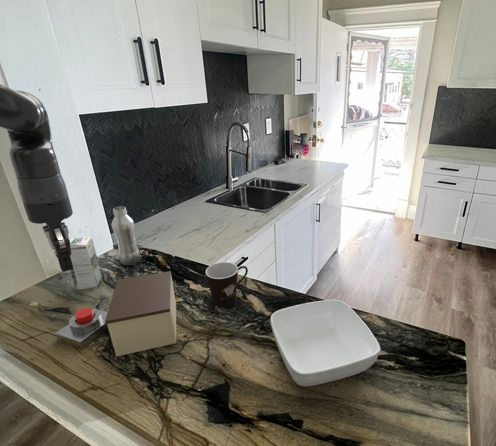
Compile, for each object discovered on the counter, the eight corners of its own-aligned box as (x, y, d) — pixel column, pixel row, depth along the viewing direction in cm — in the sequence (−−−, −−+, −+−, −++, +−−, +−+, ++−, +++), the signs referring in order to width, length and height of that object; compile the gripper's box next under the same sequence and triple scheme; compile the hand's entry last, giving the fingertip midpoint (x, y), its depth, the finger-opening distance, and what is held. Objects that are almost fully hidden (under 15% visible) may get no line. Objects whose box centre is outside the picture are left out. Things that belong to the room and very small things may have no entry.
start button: (84, 325, 74) (82, 319, 73) (73, 321, 75) (71, 316, 74) (97, 316, 77) (96, 310, 76) (86, 312, 78) (85, 306, 77)
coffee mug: (209, 312, 84) (205, 280, 80) (208, 293, 92) (205, 264, 88) (252, 305, 87) (250, 274, 83) (248, 288, 95) (246, 259, 91)
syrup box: (81, 280, 97) (69, 238, 92) (103, 277, 99) (92, 235, 93) (75, 290, 92) (62, 246, 87) (98, 287, 94) (86, 244, 88)
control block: (82, 349, 72) (77, 335, 70) (57, 340, 74) (52, 327, 73) (118, 321, 81) (115, 308, 79) (95, 314, 83) (91, 302, 81)
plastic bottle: (133, 256, 112) (122, 203, 104) (146, 261, 108) (135, 207, 101) (116, 264, 106) (102, 209, 99) (128, 270, 103) (115, 213, 95)
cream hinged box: (176, 343, 74) (170, 309, 70) (116, 356, 70) (106, 321, 66) (176, 303, 87) (171, 273, 84) (125, 313, 83) (118, 282, 80)
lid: (170, 311, 69) (169, 308, 69) (105, 324, 65) (104, 321, 65) (171, 273, 84) (170, 271, 83) (118, 282, 80) (117, 279, 79)
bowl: (340, 317, 83) (342, 293, 80) (385, 379, 66) (390, 351, 63) (265, 335, 77) (264, 310, 74) (293, 409, 59) (293, 380, 56)
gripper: (18, 192, 66) (42, 263, 73) (25, 208, 57) (52, 288, 64) (61, 186, 71) (80, 253, 78) (74, 200, 62) (94, 275, 69)
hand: (67, 269), depth 71 cm, fingers closed
